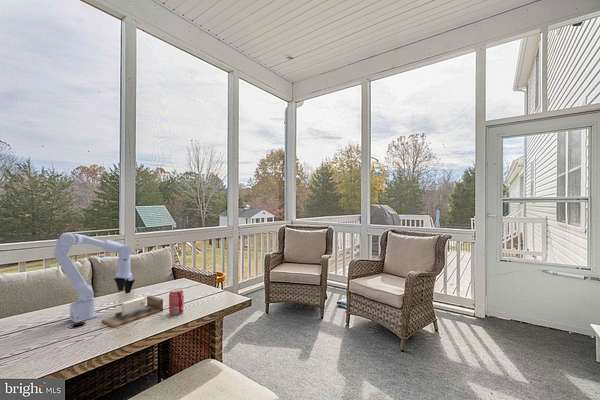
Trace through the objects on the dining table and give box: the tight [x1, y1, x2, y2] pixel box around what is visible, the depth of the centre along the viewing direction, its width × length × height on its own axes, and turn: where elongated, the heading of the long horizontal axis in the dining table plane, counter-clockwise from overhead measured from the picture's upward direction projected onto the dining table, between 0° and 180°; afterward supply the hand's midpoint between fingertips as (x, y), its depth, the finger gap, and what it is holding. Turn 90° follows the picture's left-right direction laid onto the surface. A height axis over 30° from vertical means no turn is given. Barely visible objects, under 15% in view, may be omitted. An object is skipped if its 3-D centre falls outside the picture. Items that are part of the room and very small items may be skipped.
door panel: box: [121, 296, 146, 315], centre depth 142 cm, size 10×4×7 cm, turn 147°
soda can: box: [168, 288, 185, 316], centre depth 146 cm, size 7×7×12 cm
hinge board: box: [101, 295, 164, 329], centre depth 142 cm, size 24×12×6 cm, turn 147°
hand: (124, 291), depth 151 cm, fingers open, 7 cm apart
